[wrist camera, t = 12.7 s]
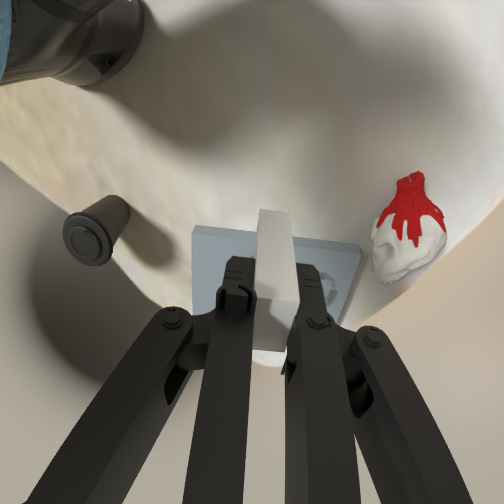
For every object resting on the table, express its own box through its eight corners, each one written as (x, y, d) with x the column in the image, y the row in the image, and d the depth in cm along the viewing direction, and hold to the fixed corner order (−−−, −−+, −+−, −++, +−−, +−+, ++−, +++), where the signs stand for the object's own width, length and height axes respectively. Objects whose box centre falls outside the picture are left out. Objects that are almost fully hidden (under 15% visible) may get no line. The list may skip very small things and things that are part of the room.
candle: (365, 266, 44) (358, 170, 38) (429, 255, 42) (429, 163, 36) (381, 299, 36) (377, 185, 30) (453, 284, 34) (460, 176, 28)
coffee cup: (136, 187, 40) (103, 218, 32) (140, 236, 44) (114, 274, 36) (89, 185, 40) (52, 214, 32) (96, 231, 44) (65, 266, 36)
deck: (195, 306, 51) (193, 316, 49) (195, 225, 43) (191, 233, 41) (331, 321, 52) (333, 331, 50) (358, 245, 43) (362, 254, 41)
